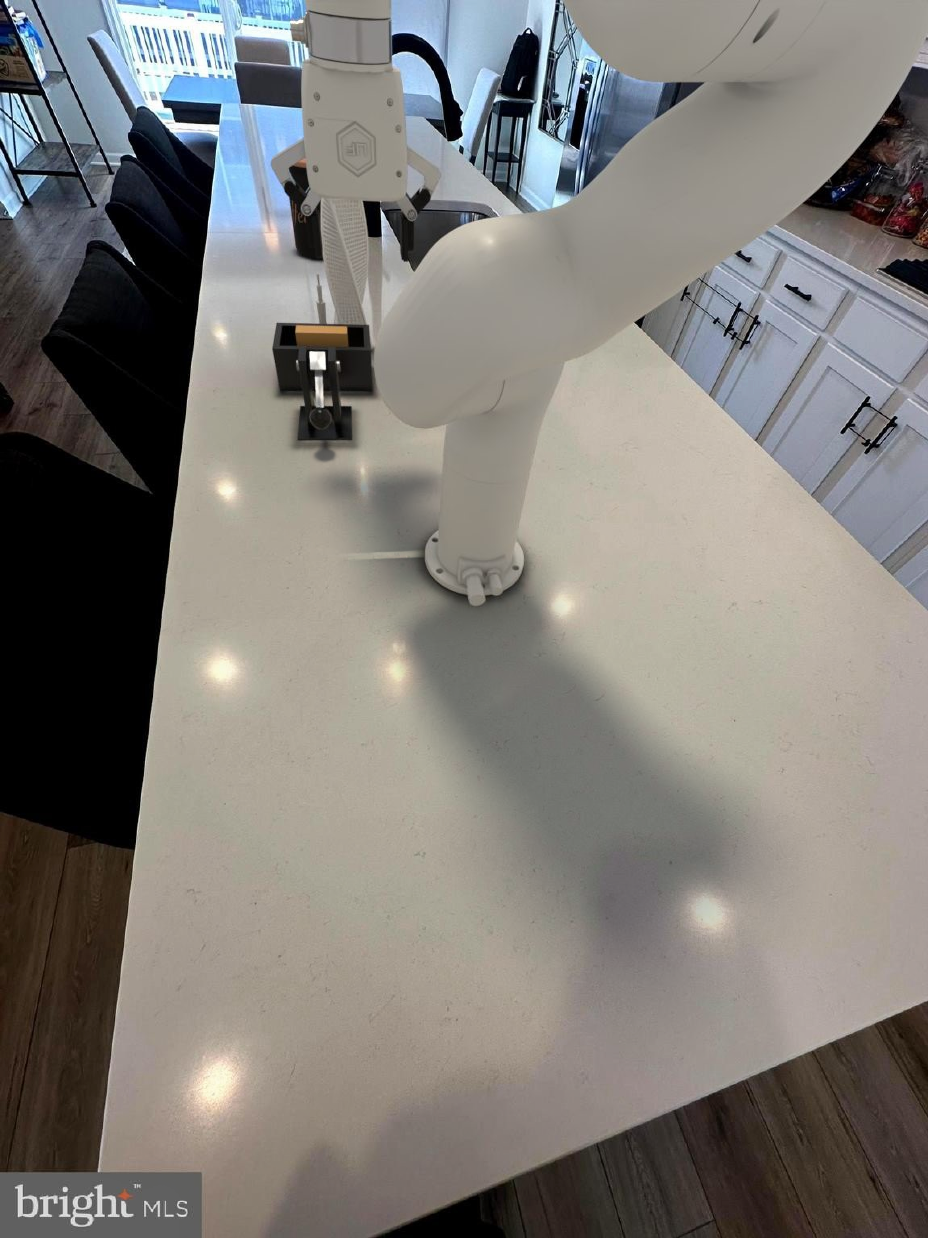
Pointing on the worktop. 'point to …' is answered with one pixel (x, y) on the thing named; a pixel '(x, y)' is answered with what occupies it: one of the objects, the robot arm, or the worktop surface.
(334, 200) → the skyscraper
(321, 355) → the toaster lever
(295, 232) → the coffee jar
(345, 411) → the lever bracket
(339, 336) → the orange square tile
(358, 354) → the black open box
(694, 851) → the worktop surface
